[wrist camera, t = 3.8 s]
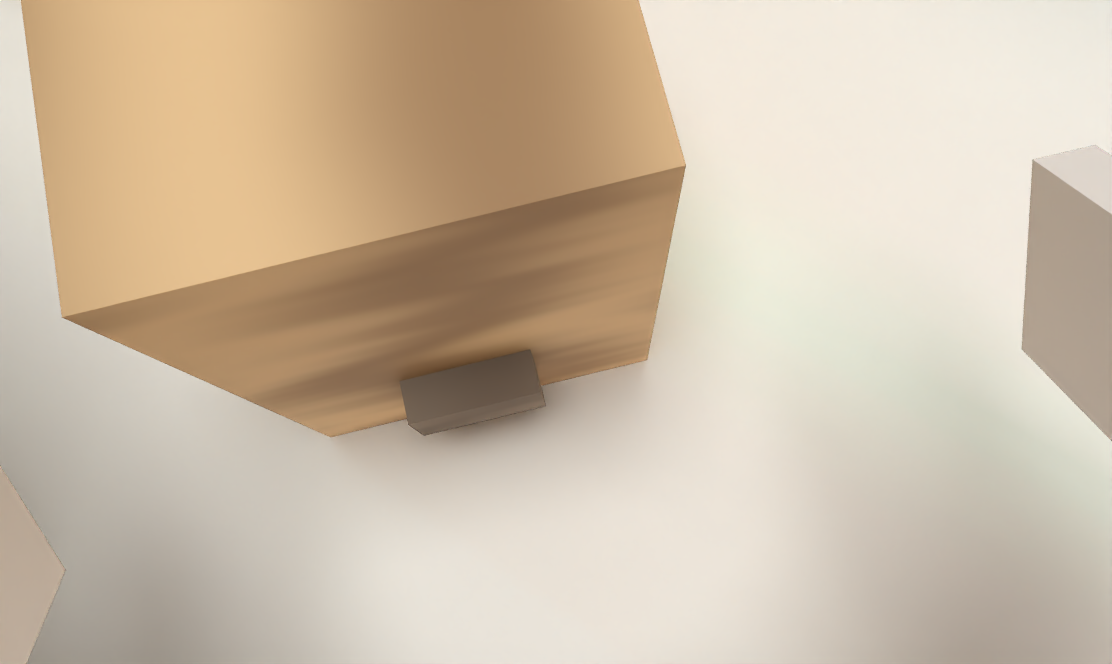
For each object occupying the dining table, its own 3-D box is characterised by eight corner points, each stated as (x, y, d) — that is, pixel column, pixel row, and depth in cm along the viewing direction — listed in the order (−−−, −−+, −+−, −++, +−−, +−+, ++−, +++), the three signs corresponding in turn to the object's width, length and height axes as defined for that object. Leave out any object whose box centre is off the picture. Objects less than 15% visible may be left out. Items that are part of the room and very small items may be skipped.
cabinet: (337, 473, 22) (70, 388, 11) (282, 182, 23) (2, -146, 12) (656, 395, 22) (705, 233, 11) (580, 109, 23) (558, -280, 12)
